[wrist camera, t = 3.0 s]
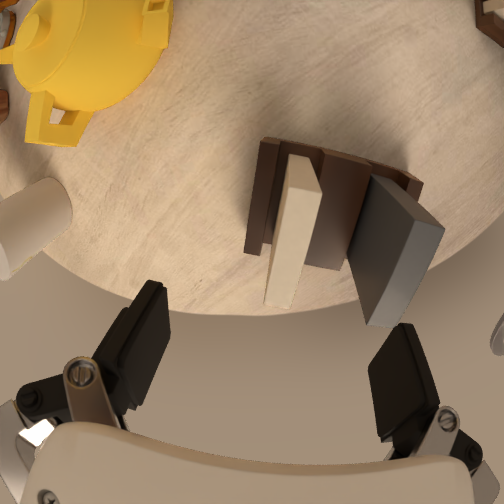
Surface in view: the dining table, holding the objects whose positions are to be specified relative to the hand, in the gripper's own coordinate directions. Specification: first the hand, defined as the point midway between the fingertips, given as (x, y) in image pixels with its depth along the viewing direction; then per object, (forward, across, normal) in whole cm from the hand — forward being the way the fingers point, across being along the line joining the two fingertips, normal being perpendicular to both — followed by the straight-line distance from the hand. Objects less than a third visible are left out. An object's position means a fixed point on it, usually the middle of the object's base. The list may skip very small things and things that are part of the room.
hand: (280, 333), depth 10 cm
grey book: (+16, -8, 0) cm, 18 cm away
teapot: (+18, +20, -14) cm, 30 cm away
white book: (+16, 0, 0) cm, 16 cm away
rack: (+17, -4, 0) cm, 17 cm away
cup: (+18, +30, +6) cm, 35 cm away
